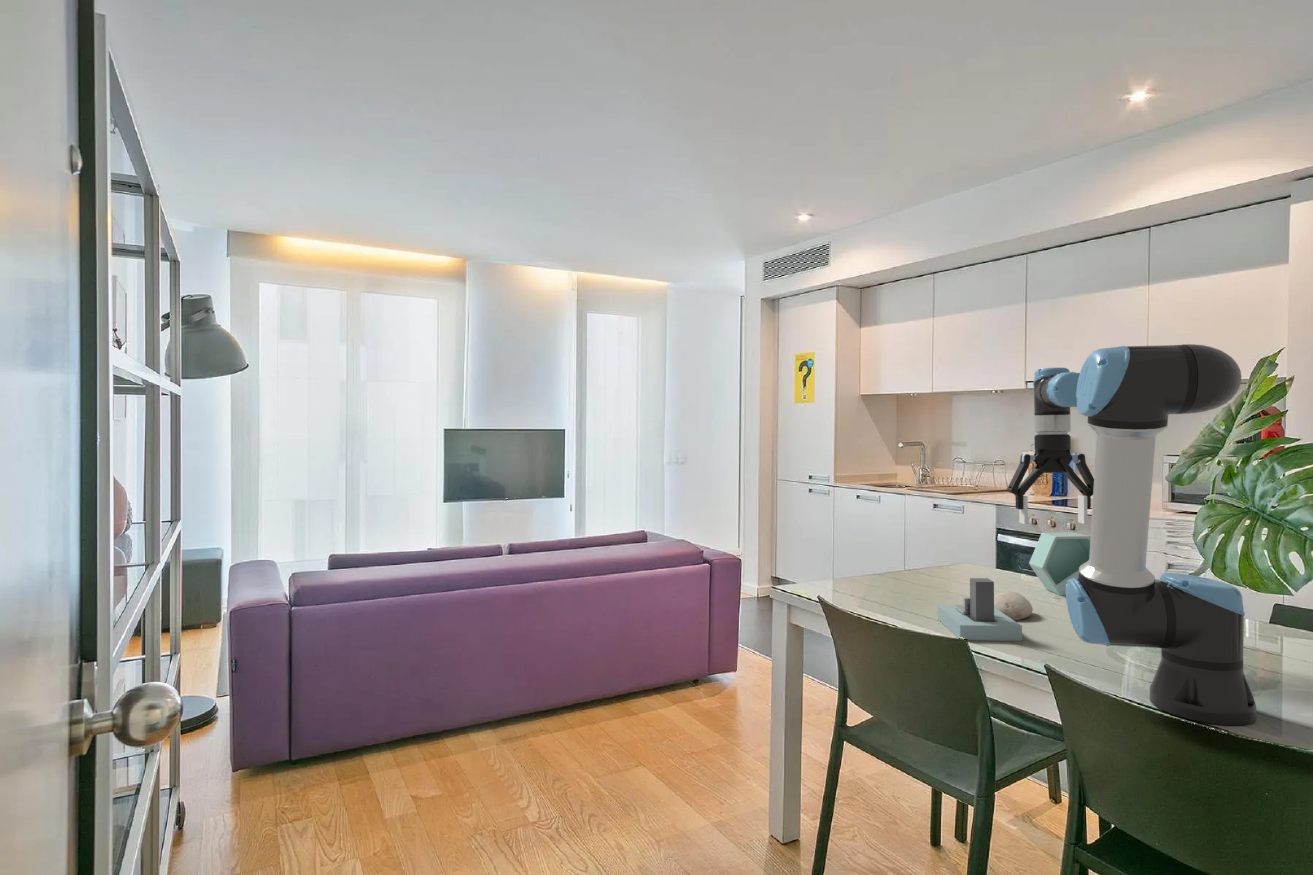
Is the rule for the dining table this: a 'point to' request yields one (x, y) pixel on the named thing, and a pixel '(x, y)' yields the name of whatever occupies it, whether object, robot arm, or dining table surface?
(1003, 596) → the stone
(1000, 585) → the dining table surface
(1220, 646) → the robot arm
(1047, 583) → the planter
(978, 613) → the plug
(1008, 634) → the socket board
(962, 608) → the shutter
